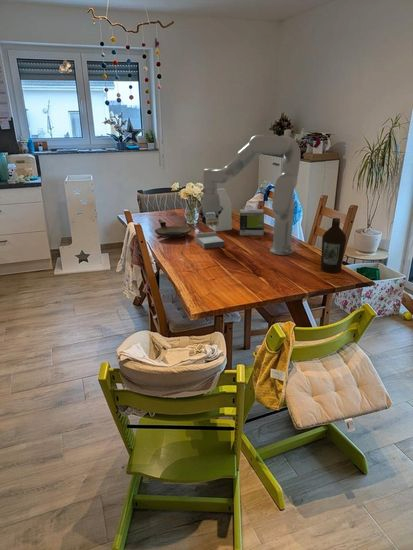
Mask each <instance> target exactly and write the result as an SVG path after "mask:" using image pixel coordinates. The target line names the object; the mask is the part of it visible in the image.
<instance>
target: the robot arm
mask: <svg viewBox="0 0 413 550" xmlns="http://www.w3.org/2000/svg"><path fill="white" fill-rule="evenodd" d="M262 154H263V155H274V156H275V155H276V156H277V155H278V156H279V155H280V156H281V155H283V157H282V163H281V164H282V165H281V171H280V175H279V176H278V177H277V179H276V181H275V184H274V189H273V197H272V204H271V206H272V210H273V212H274V221H273V222H274V225H273V226H274V227H273V236H272V237H273V239H272V240H273V241H272V247H270V248H269V252H270V253H271V254H273V255H279V256H280V255H281V256H286V255H287V256H288V255H291V254H293V253H294V248H292V233H293V222H294V211H295V199H294V197H293V196H294V190H295V188H296V187H297V185H298V176H299V171H300V170H299V169H300V163H301V148H300V146H299V143H298V142H297V140H295V139H294V138H293V137H291V136H289V135H285V134H283V135H266V134H260V133H259V134H256V135H253V136H251V138H250V139H249V141H248V143H247V144H245V145H244V146H243V147H242V148H241V149H240V150H238V152H236V155H235V157H234V159H232V160H231V161H230V162H229V163H228V164H227V165H226V166H224V167H223V168H220V169H217V168H214V167H207V168H204V169H203V178H202V179H203V187H202V189H201V190H200V192H201V194H202V195H201V196H202V199H201V206H200V207H199V208H198V209H197V208H196V212H197V213H198V214H199V215H200V216H201V223H202V222H203V223H204V224H206V217H205V215H206V213H209V212H215V214H216V218H218V216H219V214H220V213H221V212H222V211H223V209H224V208H223V207H222V206H220V200H219V194H218V193H217V189H218V184H225V183H227V182H229V181H231V180H232V179H234V178H236V176H237V175H238V174H240V173H241V172H242V171H243V170H245V168H247V167H248V166H249V165H250V164H251V163H253V161H255V160H256V159H257V158H258V157H260V156H261V155H262ZM200 210H202V211H203V212H202V213H201V212H200ZM203 223H202V224H203ZM204 224H203V225H204Z"/></svg>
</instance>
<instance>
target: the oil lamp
mask: <svg viewBox="0 0 413 550" xmlns="http://www.w3.org/2000/svg"><path fill="white" fill-rule="evenodd" d="M158 222H159V225H160V227H158V228H156V229H155V230H154V232H155V234H156V235H158V236H159V237H160V236H161V237H163V238H167V239H175V238H177V239H178V238H180V237H183V236H185V235H188V234H189V233H190V232H192V228H191V227H189V226H182V225H181V226H175V225H173V226H169V225H168V226H167V222H166V221H163V220H162V218H159V219H158Z"/></svg>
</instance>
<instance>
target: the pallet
mask: <svg viewBox="0 0 413 550" xmlns="http://www.w3.org/2000/svg"><path fill="white" fill-rule="evenodd" d="M201 224H203V225H204V226H206V227H207V228H209V227H210V225H211V226H212V227H214V225H216V226H219V219H218V218H213V219H207V218H206V224H204V223H203V222H202V221H201Z"/></svg>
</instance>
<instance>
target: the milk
mask: <svg viewBox="0 0 413 550" xmlns="http://www.w3.org/2000/svg"><path fill="white" fill-rule="evenodd" d="M217 193H218V194H219V200H220V206H222V207H223V208H224V209H223V211H222V212H221V213H220V214H219V216H218V219H219V226H216V225H214V227H212V226H211V225H210V227H208V228H209V229H210V230H213V232H221V231H222V232H223V231H231V230H233V221H232V219H233V218H232V201H231V199H230V196H229V195H228V193H227V190H226V188H217ZM213 213H214V214H215V212H213Z"/></svg>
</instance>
